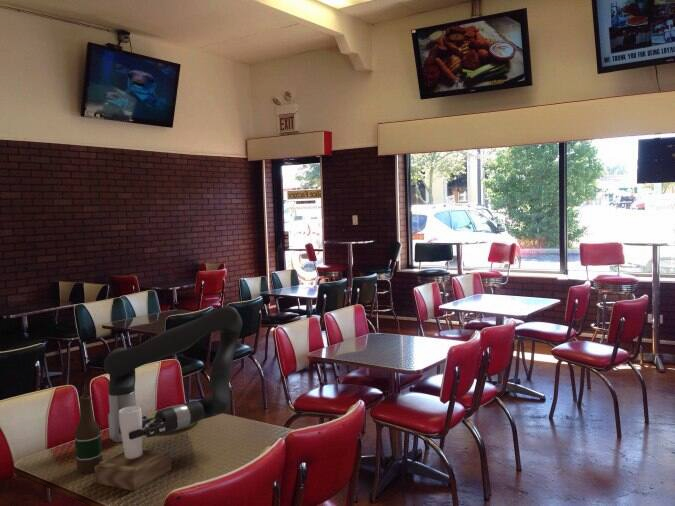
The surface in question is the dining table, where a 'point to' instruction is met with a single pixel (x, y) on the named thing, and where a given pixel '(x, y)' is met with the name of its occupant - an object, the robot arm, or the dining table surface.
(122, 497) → the dining table surface
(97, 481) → the wooden box
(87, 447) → the beer bottle
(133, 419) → the drinking glass
